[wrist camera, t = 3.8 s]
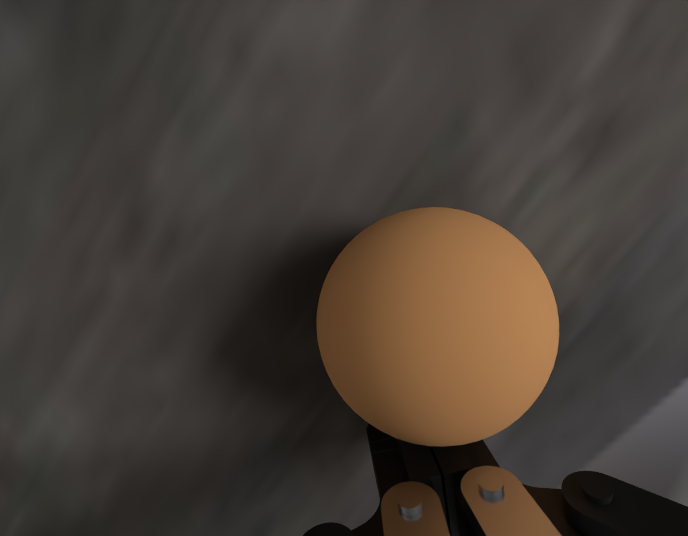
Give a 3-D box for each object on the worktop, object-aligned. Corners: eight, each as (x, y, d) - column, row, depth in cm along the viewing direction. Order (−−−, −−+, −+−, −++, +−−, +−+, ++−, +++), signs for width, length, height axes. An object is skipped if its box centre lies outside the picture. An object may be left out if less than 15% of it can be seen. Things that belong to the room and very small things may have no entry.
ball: (322, 414, 13) (310, 498, 7) (319, 233, 13) (305, 177, 8) (504, 408, 13) (635, 487, 7) (494, 229, 13) (607, 171, 8)
